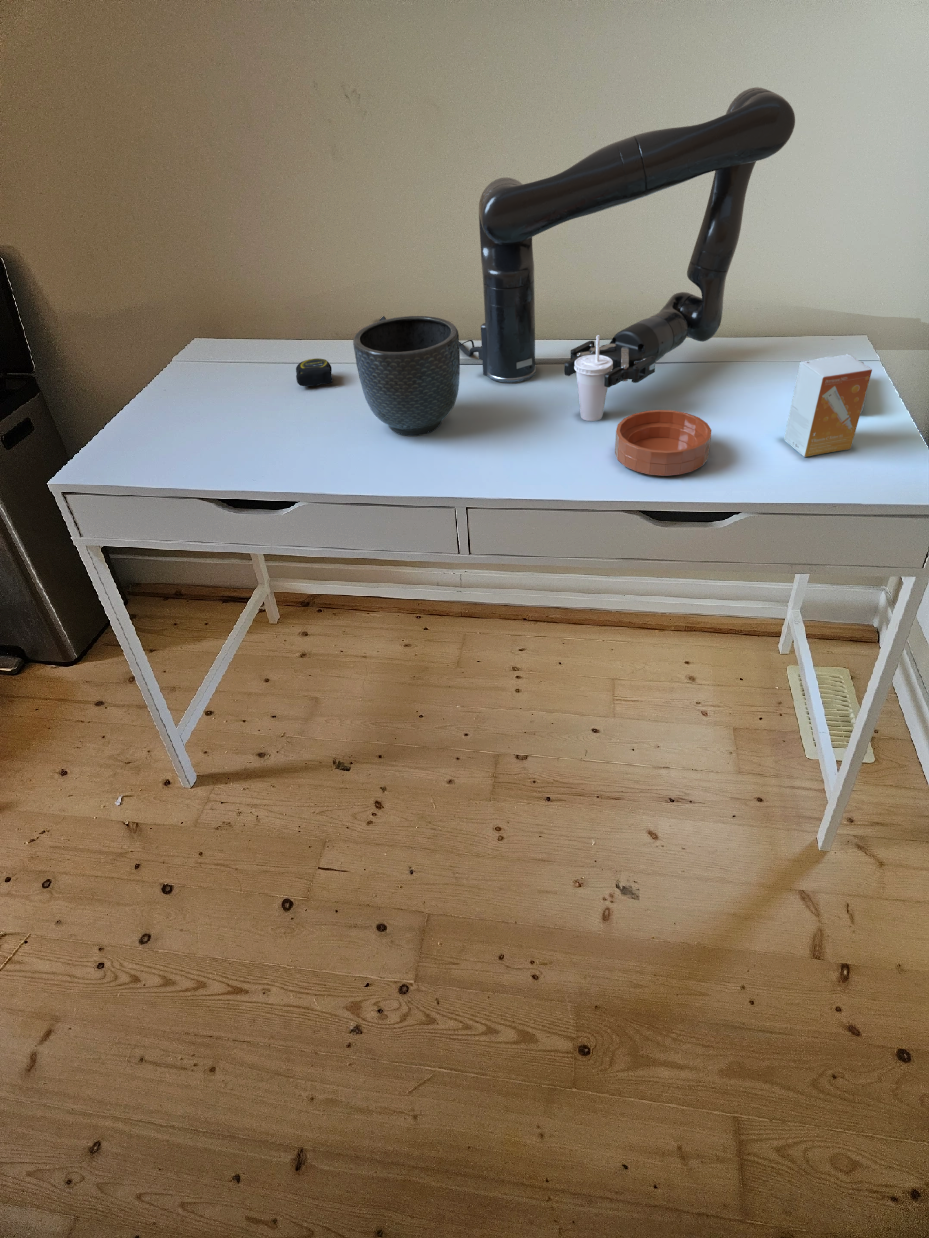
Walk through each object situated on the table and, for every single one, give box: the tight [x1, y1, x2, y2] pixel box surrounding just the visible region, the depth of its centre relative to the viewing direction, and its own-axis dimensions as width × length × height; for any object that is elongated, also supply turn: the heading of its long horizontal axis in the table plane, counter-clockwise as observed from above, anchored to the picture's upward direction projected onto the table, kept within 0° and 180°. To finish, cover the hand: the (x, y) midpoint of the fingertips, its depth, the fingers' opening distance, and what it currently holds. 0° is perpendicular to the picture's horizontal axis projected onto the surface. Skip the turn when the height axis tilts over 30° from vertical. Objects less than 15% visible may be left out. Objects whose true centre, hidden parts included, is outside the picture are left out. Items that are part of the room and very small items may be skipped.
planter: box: [352, 315, 461, 437], centre depth 137 cm, size 17×17×16 cm
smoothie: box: [574, 334, 613, 422], centre depth 136 cm, size 6×6×14 cm
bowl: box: [614, 409, 712, 477], centre depth 126 cm, size 14×14×4 cm
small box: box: [783, 353, 873, 458], centre depth 123 cm, size 8×6×13 cm
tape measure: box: [295, 358, 333, 387], centre depth 158 cm, size 7×7×4 cm
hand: (586, 375), depth 134 cm, fingers open, 7 cm apart
